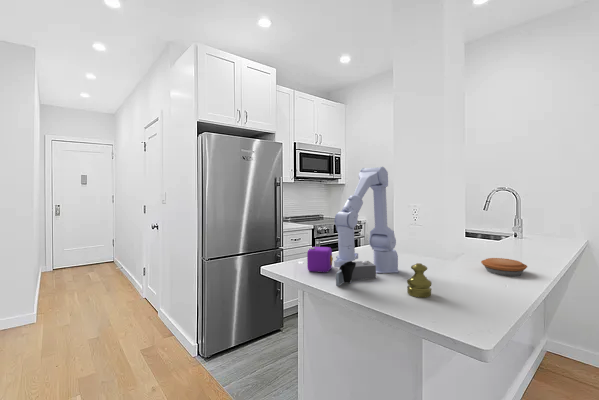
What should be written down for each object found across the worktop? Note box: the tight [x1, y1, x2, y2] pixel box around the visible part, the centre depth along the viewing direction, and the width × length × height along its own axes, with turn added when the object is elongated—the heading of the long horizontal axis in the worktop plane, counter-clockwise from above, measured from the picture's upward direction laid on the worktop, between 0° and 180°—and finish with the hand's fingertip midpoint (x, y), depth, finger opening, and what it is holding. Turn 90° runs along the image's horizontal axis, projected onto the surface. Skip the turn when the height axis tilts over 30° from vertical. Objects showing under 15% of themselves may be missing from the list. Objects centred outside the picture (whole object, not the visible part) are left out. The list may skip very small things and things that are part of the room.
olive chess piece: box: [406, 262, 433, 299], centre depth 97 cm, size 7×7×10 cm
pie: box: [480, 257, 528, 277], centre depth 122 cm, size 16×16×5 cm
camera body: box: [338, 260, 377, 281], centre depth 118 cm, size 13×8×6 cm, turn 98°
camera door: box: [335, 269, 345, 287], centre depth 109 cm, size 9×1×5 cm, turn 151°
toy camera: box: [306, 246, 334, 273], centre depth 130 cm, size 11×14×10 cm
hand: (347, 282), depth 107 cm, fingers closed, pressing on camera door
